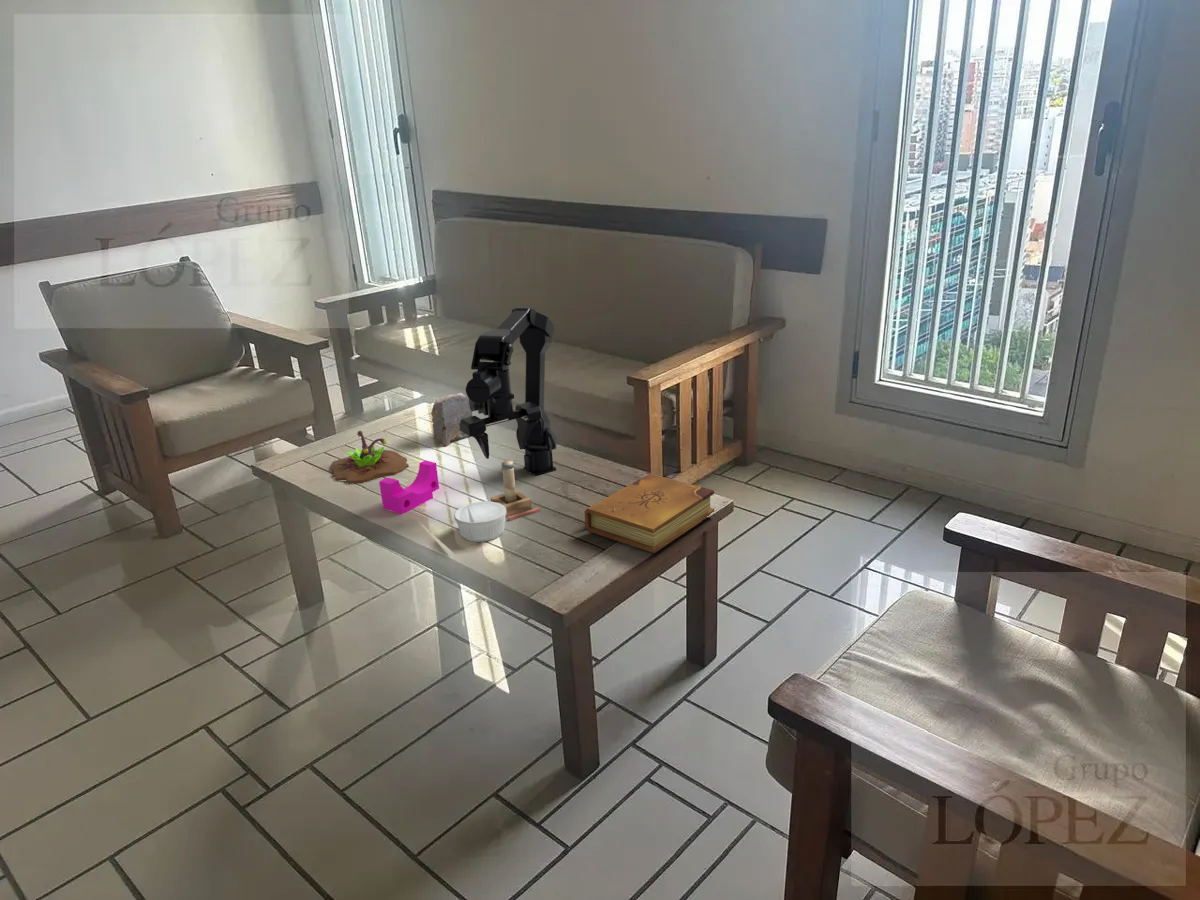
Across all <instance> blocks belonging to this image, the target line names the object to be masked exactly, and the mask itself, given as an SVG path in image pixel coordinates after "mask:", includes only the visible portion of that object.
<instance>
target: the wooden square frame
mask: <svg viewBox="0 0 1200 900" xmlns="http://www.w3.org/2000/svg"><path fill="white" fill-rule="evenodd" d="M489 500H490V502H496V503H500V504H502V505H503V506H505V508H506V516H505V518H507V520H508V521H512V520H515V519H520V518H522V517H526V516H528V515H532V514H535V513H538V512H541V508H539V507H536V508H533V507H532V499H531V498H530V497H528V496H527V495H525V494H524V493H522V492H520V491H519V490H518V489H516V500H517V501H515V502H512V503H508V504H506V502H505V493H501V494H499V495H494V496H492V497H490V499H489Z"/></svg>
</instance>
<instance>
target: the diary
mask: <svg viewBox="0 0 1200 900" xmlns="http://www.w3.org/2000/svg"><path fill="white" fill-rule="evenodd" d="M713 495H715V489H711V488H708V487H707V488H706V487H703V486H699V485H696V484H695V485H694V484H691V483H687V482H683V481H680V480H676V479H673V478H669V477H664V476H660V475H656V474H652V473H648V474H647V475H644V476H643V477H641V478H639V479H637V480H635V481H634V482H632V483H631V484H629V485H626V486H624V487H623V488H621V489H619V490H618V491H616V492H615V493H612V494H610V495H608V496H606V497H604V499H602V500H600V501H598V502H596V503H594V504H593V505H591V506H589V507H587V508H586V509H585V510H584V521H585V522H584V524H585V528H586V530H587V531H588V532H589V533H592V534H595V535H599V536H601V537H605V538H607V539H609V540H610V539H611V540H613V541H616V542H619V543H623V544H626V545H629V546H632V547H635V548H638V549H641V550H644V551H647V552H650V553H654V554H656V553H657V552H658V551H659V550H661V549H663V548H664V547H666V546H667V545H668V544H670V543H672V542H674V540H675V539H677V538H679V537H681V535H684V534H685V533H686V532H688V531H689V530H691V529H692V528H694V527H695V526H697V525H698V524H700V523H702V522H703V521H704V520H705V518H706V517H707V516H709V515H710V514H711V513H712V512H714V513H715V509H714V508H712V507H711V496H713ZM710 516H711V515H710ZM710 516H709V517H710ZM707 518H708V517H707ZM707 518H706V519H707ZM703 519H704V520H703ZM702 520H703V521H702Z"/></svg>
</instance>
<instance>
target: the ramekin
mask: <svg viewBox="0 0 1200 900" xmlns="http://www.w3.org/2000/svg"><path fill="white" fill-rule="evenodd" d="M505 516H506V508H505V506H503V505H502V504H500V503H496V502H491V501H477V502H471V503H469V504H466V505H464V506H461V507H460V508H458V509H457V510H456V511H455V513H454V521H455V522H456V524H457V527H458V531H459V533H460V535H461V537H462V538H463V539H465V540H466V541H469V542H473V543H475V542H477V543H479V542H480V543H481V542H487V541H492V540H494V539H496V538H499V537H500V536H501V535H502V534H503V532H504V531H505V527H506V517H505Z"/></svg>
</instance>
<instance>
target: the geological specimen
mask: <svg viewBox="0 0 1200 900" xmlns="http://www.w3.org/2000/svg"><path fill="white" fill-rule="evenodd" d="M430 414H431V417H432V418H431V421H432V423H433V424H432V431H433V432H432V433H433V442H434V444H437V445H440V446H442V447H448V446H449V445H450V443H452V442H454V441H459V440H463V439H464V438H470V437H472V436H468V435H467V434H465V433H463V432H462V431H460V425H459V423H460V421H461V419H464V418H468V417H471V416H473V412H472V411H471V410H470V406H469V397H468V396H467V395H465V394H463V393H462V392H458V393H452V394H446V395H445V396H441V397H439V398H437V400H435V402H434V404H433V405H432V408H431V412H430ZM472 438H473V437H472Z"/></svg>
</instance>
